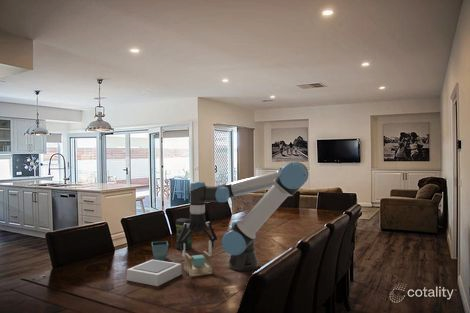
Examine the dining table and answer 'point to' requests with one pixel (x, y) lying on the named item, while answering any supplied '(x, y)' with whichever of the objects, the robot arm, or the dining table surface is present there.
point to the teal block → (198, 260)
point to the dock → (154, 272)
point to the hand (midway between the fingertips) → (197, 255)
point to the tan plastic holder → (199, 269)
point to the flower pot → (160, 250)
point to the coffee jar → (179, 228)
